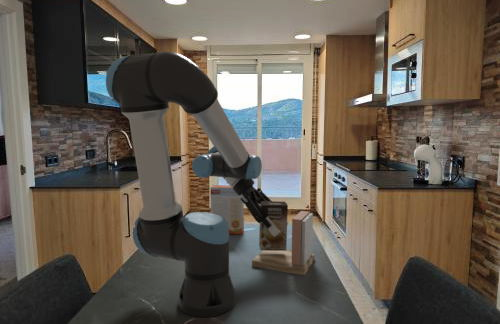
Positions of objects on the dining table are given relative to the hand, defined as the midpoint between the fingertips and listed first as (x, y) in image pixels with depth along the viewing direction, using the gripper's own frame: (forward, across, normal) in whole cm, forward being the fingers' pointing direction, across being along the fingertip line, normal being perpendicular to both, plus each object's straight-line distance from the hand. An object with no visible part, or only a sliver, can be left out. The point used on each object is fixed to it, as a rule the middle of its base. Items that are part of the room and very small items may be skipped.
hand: (281, 230), depth 116 cm
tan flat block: (+11, +1, -1) cm, 11 cm away
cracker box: (-14, -22, -31) cm, 40 cm away
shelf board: (+9, +1, -7) cm, 11 cm away
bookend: (+12, +1, -1) cm, 12 cm away
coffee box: (+3, 0, -7) cm, 8 cm away
